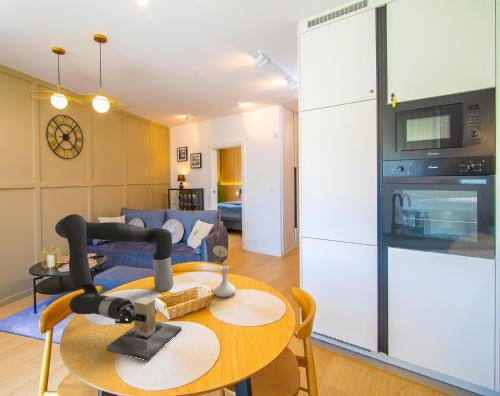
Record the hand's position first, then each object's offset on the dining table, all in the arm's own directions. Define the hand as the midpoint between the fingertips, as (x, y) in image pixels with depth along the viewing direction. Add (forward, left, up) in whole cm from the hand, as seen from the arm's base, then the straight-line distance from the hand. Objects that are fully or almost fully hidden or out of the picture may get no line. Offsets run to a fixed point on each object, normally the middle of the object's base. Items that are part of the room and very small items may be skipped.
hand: (150, 315), depth 92 cm
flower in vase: (-44, +7, -10) cm, 46 cm away
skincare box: (0, -3, -7) cm, 8 cm away
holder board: (0, -3, -10) cm, 10 cm away
